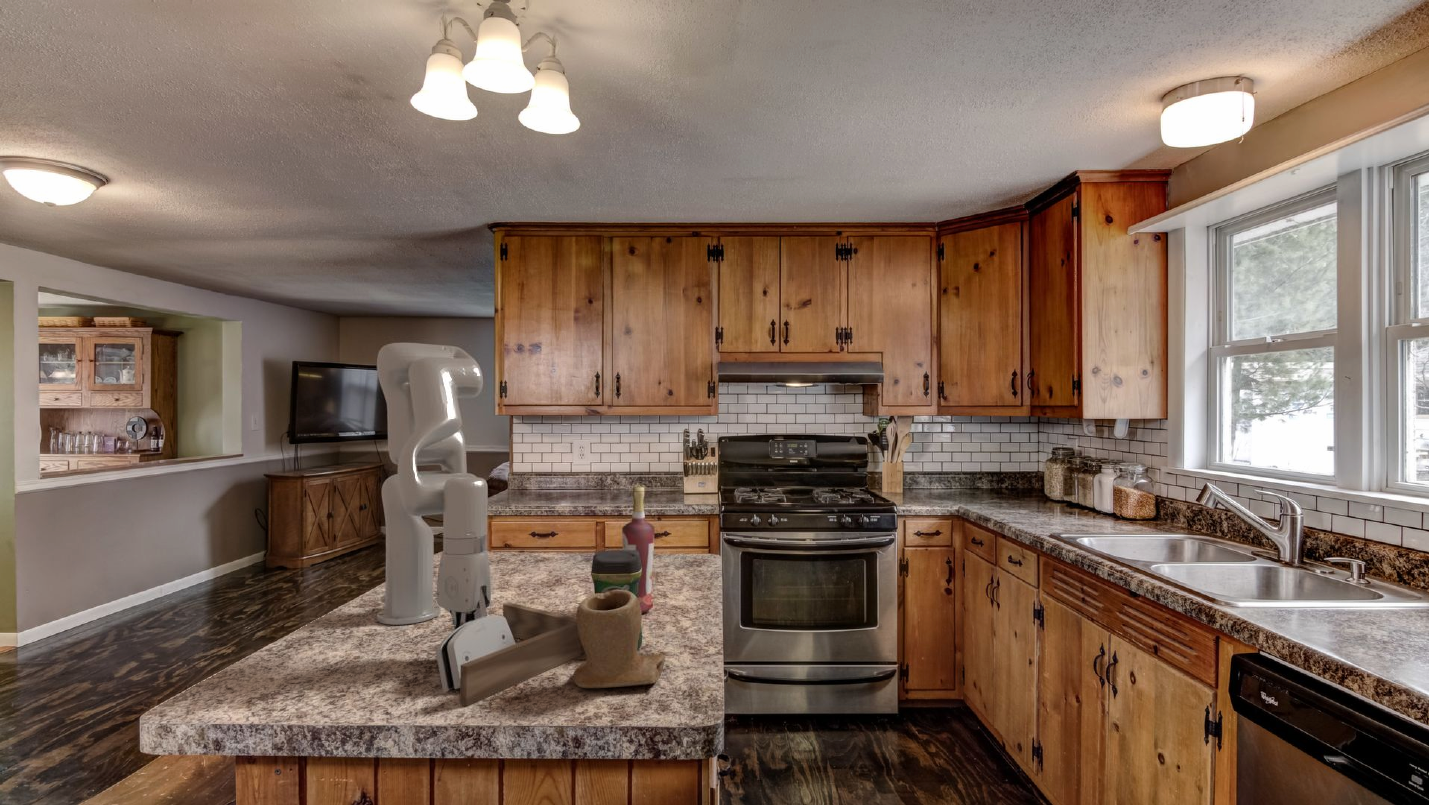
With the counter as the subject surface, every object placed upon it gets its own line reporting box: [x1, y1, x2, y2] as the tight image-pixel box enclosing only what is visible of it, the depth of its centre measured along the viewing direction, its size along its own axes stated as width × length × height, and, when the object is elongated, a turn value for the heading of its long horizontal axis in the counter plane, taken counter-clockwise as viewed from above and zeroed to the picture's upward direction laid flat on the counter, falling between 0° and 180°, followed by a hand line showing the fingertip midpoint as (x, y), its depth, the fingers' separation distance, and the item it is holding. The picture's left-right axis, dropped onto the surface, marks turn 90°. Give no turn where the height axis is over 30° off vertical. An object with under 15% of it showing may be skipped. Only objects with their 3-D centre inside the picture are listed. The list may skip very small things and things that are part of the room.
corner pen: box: [459, 602, 586, 708], centre depth 114 cm, size 22×26×6 cm
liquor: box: [621, 486, 656, 614], centre depth 145 cm, size 7×7×28 cm
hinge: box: [435, 615, 517, 692], centre depth 111 cm, size 17×5×10 cm, turn 165°
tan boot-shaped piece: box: [572, 590, 666, 689], centre depth 106 cm, size 15×12×15 cm
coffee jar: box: [590, 549, 643, 651], centre depth 122 cm, size 10×8×19 cm
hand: (464, 646), depth 116 cm, fingers closed
